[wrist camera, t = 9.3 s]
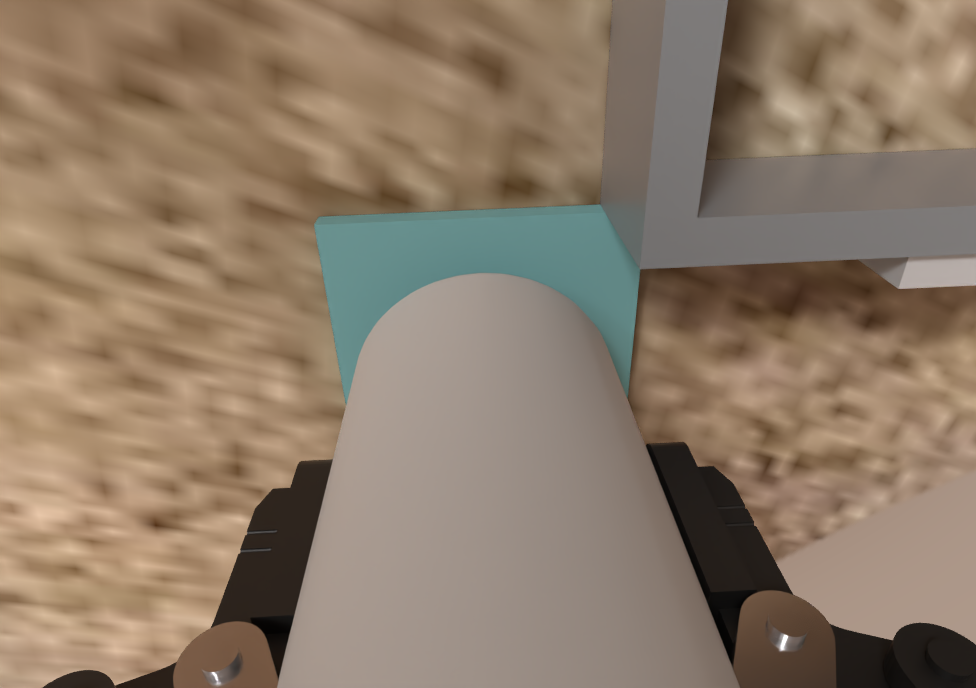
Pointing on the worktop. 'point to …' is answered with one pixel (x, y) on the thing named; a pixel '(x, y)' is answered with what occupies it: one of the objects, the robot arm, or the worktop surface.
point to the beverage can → (496, 513)
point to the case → (761, 173)
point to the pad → (476, 266)
